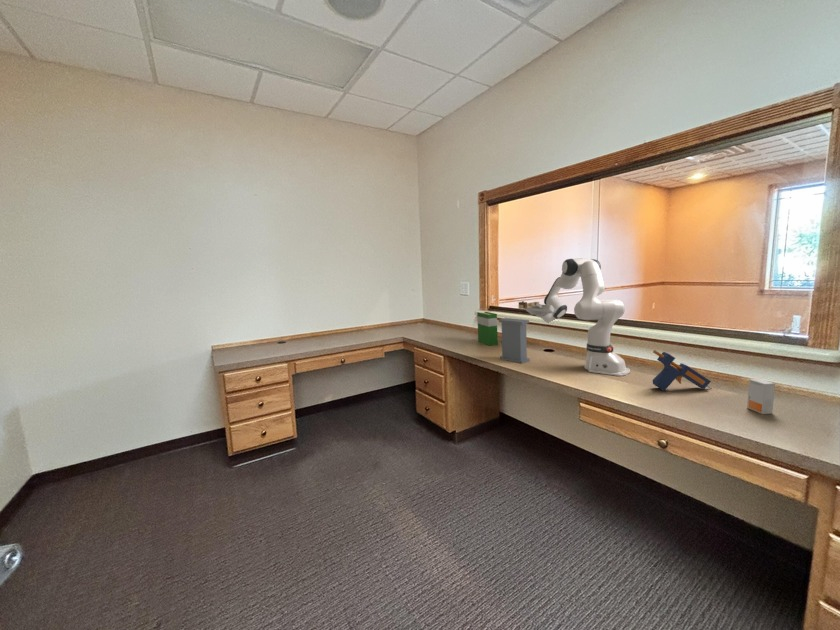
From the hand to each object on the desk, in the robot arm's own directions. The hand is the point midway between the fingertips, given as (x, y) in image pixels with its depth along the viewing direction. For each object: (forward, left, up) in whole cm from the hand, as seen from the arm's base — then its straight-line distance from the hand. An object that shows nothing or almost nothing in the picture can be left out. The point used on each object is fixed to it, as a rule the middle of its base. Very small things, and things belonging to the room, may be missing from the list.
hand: (533, 303), depth 230 cm
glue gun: (-86, +16, -34) cm, 94 cm away
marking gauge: (0, +5, -2) cm, 6 cm away
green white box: (+44, -4, -34) cm, 56 cm away
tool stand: (0, +23, -34) cm, 41 cm away
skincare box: (-113, +25, -34) cm, 121 cm away
